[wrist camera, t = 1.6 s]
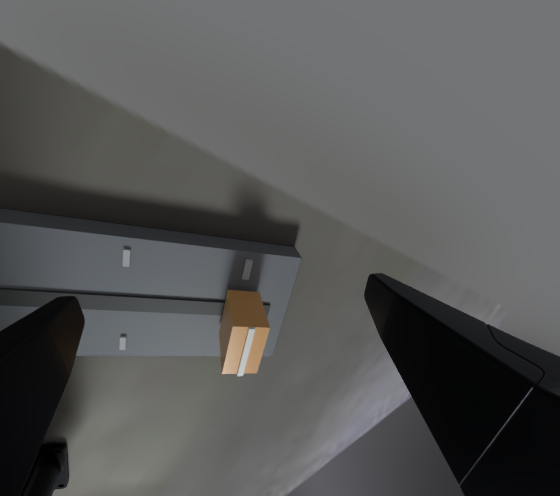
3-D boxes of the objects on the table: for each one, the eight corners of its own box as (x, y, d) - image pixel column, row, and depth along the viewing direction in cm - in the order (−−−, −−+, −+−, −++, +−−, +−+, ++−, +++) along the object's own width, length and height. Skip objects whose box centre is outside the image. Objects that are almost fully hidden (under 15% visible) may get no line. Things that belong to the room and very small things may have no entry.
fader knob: (248, 333, 23) (257, 375, 20) (218, 332, 23) (222, 376, 19) (259, 292, 22) (270, 329, 18) (227, 289, 21) (233, 328, 17)
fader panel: (267, 340, 28) (272, 357, 26) (-63, 333, 20) (-91, 357, 18) (294, 246, 24) (302, 259, 22) (-101, 195, 16) (-142, 207, 14)
